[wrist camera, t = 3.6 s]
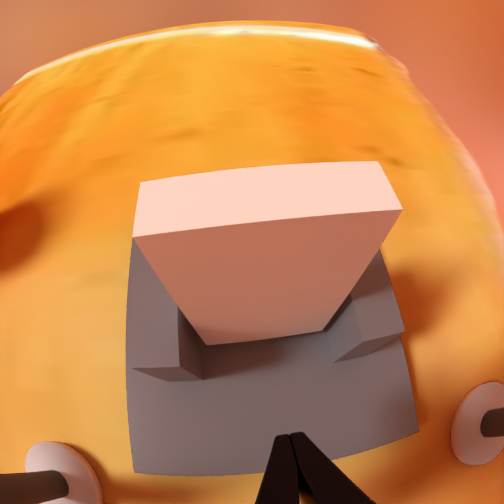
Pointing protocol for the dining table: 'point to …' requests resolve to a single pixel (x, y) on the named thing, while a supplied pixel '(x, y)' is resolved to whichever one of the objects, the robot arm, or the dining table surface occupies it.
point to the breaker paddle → (264, 243)
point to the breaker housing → (262, 382)
